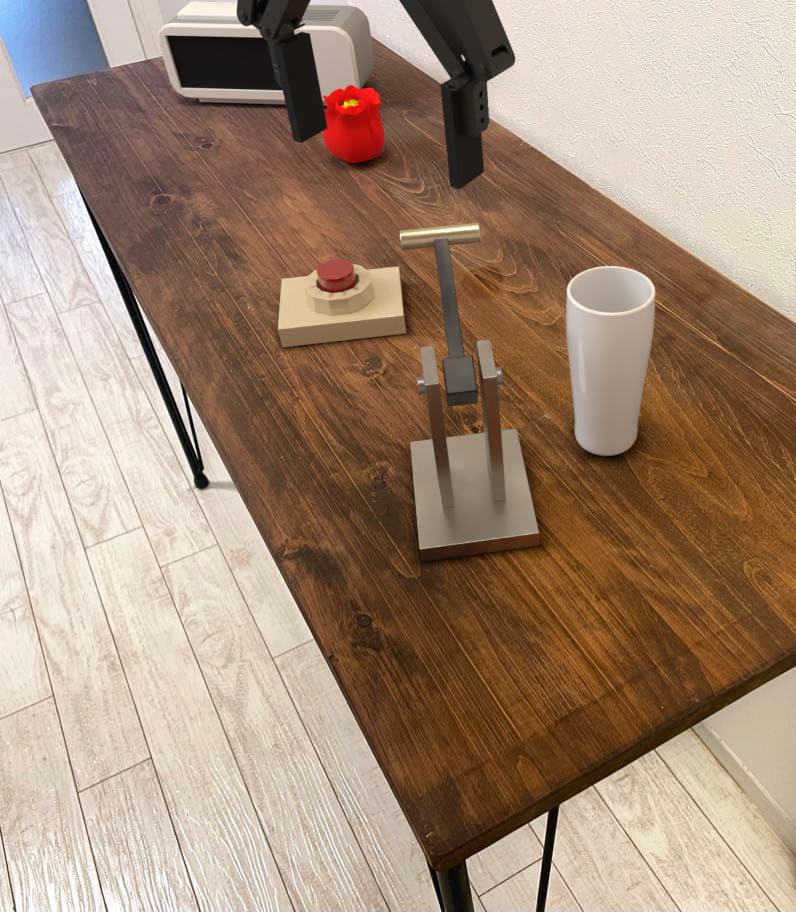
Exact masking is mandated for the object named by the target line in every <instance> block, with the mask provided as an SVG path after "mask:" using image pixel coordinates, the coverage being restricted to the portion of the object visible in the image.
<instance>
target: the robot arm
mask: <svg viewBox="0 0 796 912" xmlns="http://www.w3.org/2000/svg"><path fill="white" fill-rule="evenodd" d="M236 2H237V17H238V20H239V21H240V23H241V24H242V25H244V26H250V25H253V26H254V27H255V28H257V29H258V30H259V32H260V34H261V36H262V37H263V38H264V39H265V40H266V41H267V42H268V46H269V51H270V56H271V60H272V63H273V69H274V74H275V78H276V81H277V83H278V85H279V87H282V90H283V94H284V99H285V103H286V104H285V107H286V112H287V117H288V122H289V127H290V130H291V131H290V132H291V135H292V140H293V142H297V143H300V144H302V143H305V142H306V141H308V140H310V139H311V138H314V137H315V136H317V135H319V134H320V133H323V131H324V130H326V129H327V128H328V127H327V122H326V117H325V112H324V111H325V107H324V106H323V101H322V96H321V90H320V85H319V80H318V74H317V69H316V64H315V59H314V53H313V48H312V43H311V37H310V34H309V33H305V32H300V33H297V34H295V33H294V30H296V29H298V28H301V27H303V26H304V25H305V23H303V24H301V25H300V22H302V18H303V16H304V13H305V11H306V9H307V7H308V5H310V3H311V0H237V1H236ZM398 2H399V3H400V4H401V6H402V7H403V9H404V10H405V11H406V14H407V15H408V16H409V17H410V19H411V21H412V22H413V24H414V25H415V28H417V30H418V31H419V33H420V34H421V37H423V39H424V40H425V42H426V43H427V46H429V48H430V50H431V51H432V52H433V54H434V55H435V56H436V58H437V60H438V61H439V63H440V64H441V66H442V67H443V69H444V71H445V72H446V74H447V75H448V76H449V79H448V80H445V81H444V82H442V83H441V84H439V86H440V97H441V105H442V106H441V107H442V116H443V126H444V127H443V128H444V137H445V146H446V147H445V148H446V156H447V165H448V167H447V168H448V176H449V186H450V187H451V188H454V189H457V190H461V189H462V188H464V187H465V186H467V185H468V184H470V183H471V182H473V181H474V180H475V179H476V178H478V177H480V176H481V175H482V174H483V173H485V166H484V152H483V138H482V133H483V132H485V131H487V130H488V128H489V125H490V109H489V92H488V81H491V80H492V79H494V78H496V77H498V76H499V75H500V74H502V73H504V72H505V71H507V70H508V69H510V68H512V67H513V66H515V63H516V55H515V52H514V50H513V47H512V45H511V42H510V40H509V37H508V35H507V32H506V30H505V28H504V25H503V22H502V21H501V18H500V15H499V12H498V10H497V8H496V6H495V4H494V1H493V0H398Z"/></svg>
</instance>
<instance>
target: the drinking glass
mask: <svg viewBox="0 0 796 912" xmlns="http://www.w3.org/2000/svg"><path fill="white" fill-rule="evenodd" d="M655 318H656V286H655V285H654V283H653V281H652V280H651V279H650V278H649V277H647V275H645V274H643V273H642V272H640V271H638V270H636V269H633V268H628V267H626V266H617V265H604V266H597V267H592V268H588V269H585V270H583V271H581V272H579V273H577V274H576V275H575V276H574V277H572V278H571V280H570V281H569V282H568V283H567V286H566V300H565V339H566V350H567V358H568V368H569V377H570V378H569V379H570V386H571V396H572V406H573V407H572V408H573V416H574V419H573V420H574V422H573V423H574V430H573V431H574V436H575V440H576V442H577V444H578V445H579V446H580V448H582V449H583V450H585V451H586V452H588V453H590V454H592V455H597V456H600V457H612V456H617V455H620V454H623V453H625V452H627V451H628V450H629V449H631V448H632V447H633V446H634V443H635V442H636V441H637V438H638V430H639V419H640V413H641V409H642V407H641V406H642V402H643V395H644V390H645V384H646V379H647V373H648V369H649V363H650V357H651V352H652V346H653V340H654V330H655V321H656V320H655Z"/></svg>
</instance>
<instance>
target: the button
mask: <svg viewBox="0 0 796 912" xmlns="http://www.w3.org/2000/svg"><path fill="white" fill-rule="evenodd" d="M353 264H354V263H352V262H351V261H349V260H348V259H343V258H341V259H340V258H339V259H337V258H336V259H330V260H327V261H324V262H323V263H321V264H320V265H319V266H318V267H317V269H316V270H317V276H318V281H319V285H320V288H321V290H322V291H324V292H329V293H338V292H345V291H347V290H349V289H352V288H354V287H355V285H356V283H357V281H356V275H355V270H354V266H353Z"/></svg>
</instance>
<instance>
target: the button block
mask: <svg viewBox="0 0 796 912" xmlns="http://www.w3.org/2000/svg"><path fill="white" fill-rule="evenodd" d="M352 264H353V266H354V270H355V275H356V281H357V283H356V285H355V287H354V288H352V289H349V290H347V291H345V292H338V293H329V292H324V291H322V290H321V288H320V285H319V281H318V276H317V269H315V270H313V271H311V273H310V274H309V275H304V276H296V277H295V276H294V277H286V278H285V277H283V278H281V282H280V283H281V284H280V296H279V307H278V319H277V320H278V321H277V332H278V334H279V335H278V336H279V339H280V344H281V346H282V348H290V347H291V348H292V347H299V346H305V345H306V346H308V345H316V344H325V343H326V344H327V343H333V342H335V343H336V342H343V341H352V340H359V339H370V338H379V337H388V336H395V335H397V336H398V335H405V334H407V325H406V316H405V315H406V314H405V304H404V296H403V284H402V278H401V270H400V266H397V265H396V266H389V267H388V266H387V267H379V268H370V269H367V268H365V267H364V266H363V265H361V264H360V265H359V264H356V263H352Z"/></svg>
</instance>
